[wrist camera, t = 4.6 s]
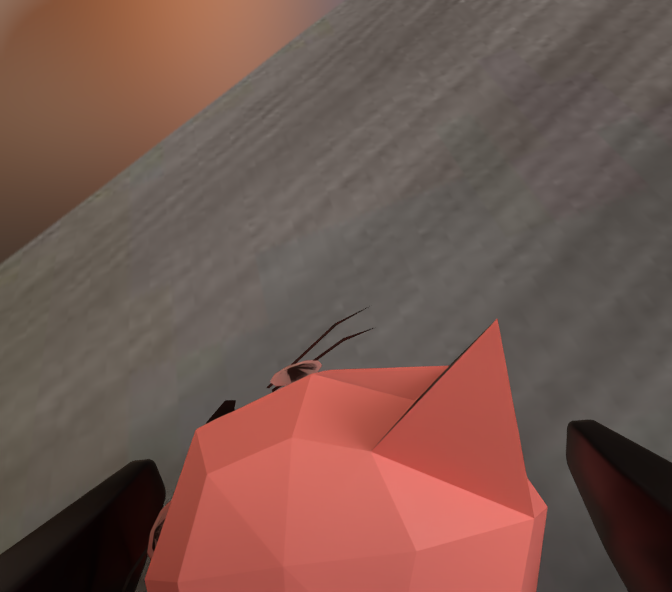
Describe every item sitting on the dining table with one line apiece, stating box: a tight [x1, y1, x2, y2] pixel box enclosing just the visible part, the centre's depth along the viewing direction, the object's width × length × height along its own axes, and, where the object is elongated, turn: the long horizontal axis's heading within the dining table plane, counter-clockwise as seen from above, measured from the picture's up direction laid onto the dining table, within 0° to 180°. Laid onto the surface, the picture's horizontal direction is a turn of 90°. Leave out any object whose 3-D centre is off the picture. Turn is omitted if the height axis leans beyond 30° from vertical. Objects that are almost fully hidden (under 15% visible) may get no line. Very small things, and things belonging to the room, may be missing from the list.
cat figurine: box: [122, 306, 547, 592], centre depth 8 cm, size 7×7×12 cm
